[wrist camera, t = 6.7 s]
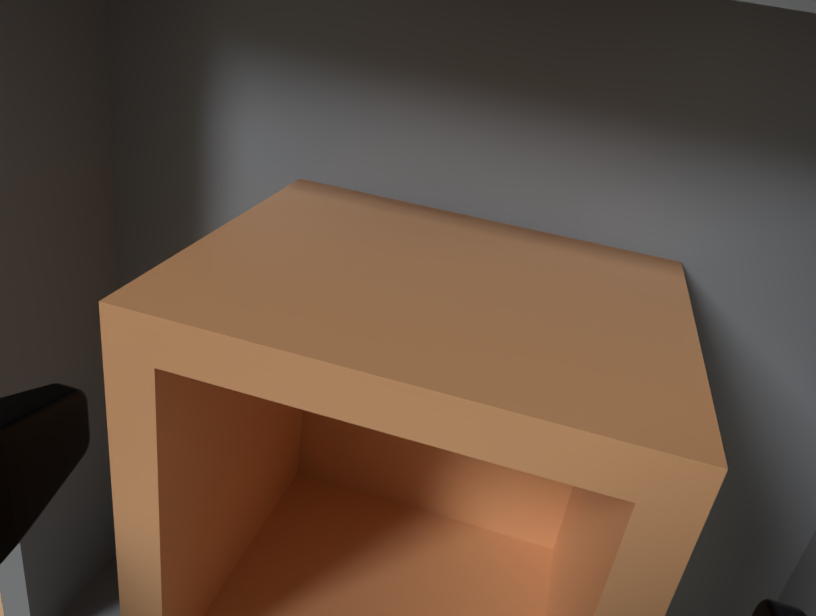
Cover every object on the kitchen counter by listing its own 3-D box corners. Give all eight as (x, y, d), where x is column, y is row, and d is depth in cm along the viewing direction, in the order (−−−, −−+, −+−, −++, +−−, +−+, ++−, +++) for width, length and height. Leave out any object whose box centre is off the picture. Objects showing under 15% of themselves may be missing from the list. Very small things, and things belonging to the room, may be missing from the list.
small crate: (681, 262, 10) (727, 469, 6) (580, 560, 13) (561, 854, 9) (300, 178, 11) (98, 300, 7) (279, 469, 14) (125, 690, 10)
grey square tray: (1136, 7, 8) (1446, 22, 5) (722, 738, 14) (750, 940, 11) (84, -150, 11) (-132, -205, 8) (121, 534, 17) (11, 656, 14)
